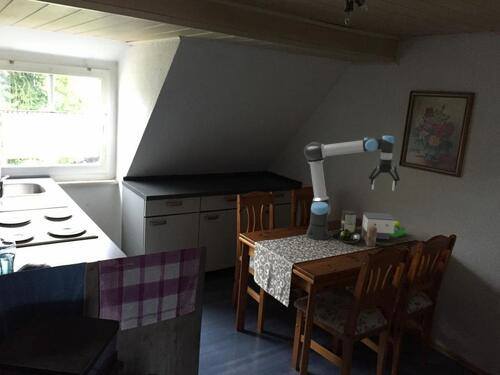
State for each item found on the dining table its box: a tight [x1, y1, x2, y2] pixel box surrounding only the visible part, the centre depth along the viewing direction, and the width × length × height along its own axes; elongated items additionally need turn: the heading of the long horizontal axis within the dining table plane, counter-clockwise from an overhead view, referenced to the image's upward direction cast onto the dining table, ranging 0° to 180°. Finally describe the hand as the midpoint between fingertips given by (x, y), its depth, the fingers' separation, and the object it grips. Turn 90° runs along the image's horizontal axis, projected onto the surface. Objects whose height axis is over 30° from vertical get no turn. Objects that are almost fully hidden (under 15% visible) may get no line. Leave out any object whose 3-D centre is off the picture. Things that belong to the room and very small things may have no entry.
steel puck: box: [352, 233, 361, 241], centre depth 289 cm, size 4×4×3 cm
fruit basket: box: [390, 219, 407, 238], centre depth 302 cm, size 11×9×11 cm
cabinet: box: [360, 211, 397, 240], centre depth 289 cm, size 19×16×17 cm
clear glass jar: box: [340, 209, 357, 233], centre depth 308 cm, size 10×10×14 cm
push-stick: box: [363, 226, 377, 247], centre depth 282 cm, size 5×15×12 cm, turn 177°
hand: (382, 189), depth 285 cm, fingers open, 13 cm apart
